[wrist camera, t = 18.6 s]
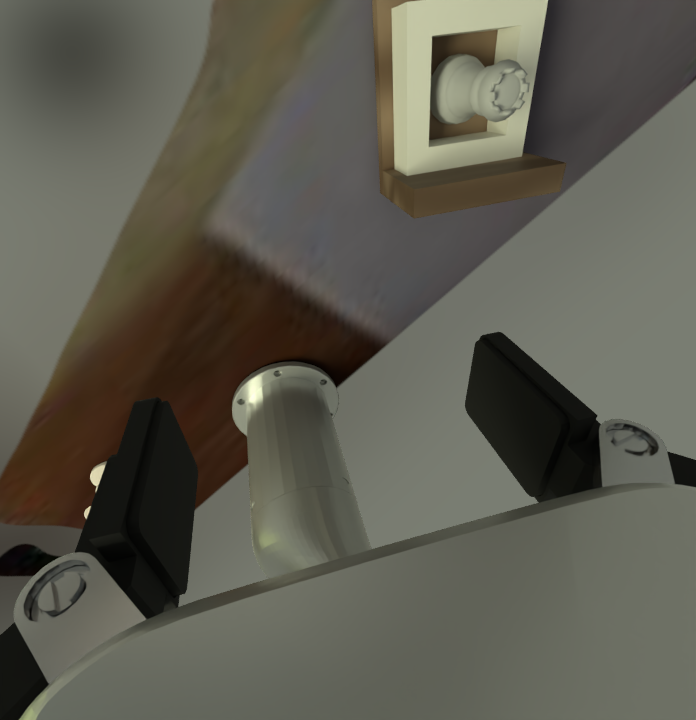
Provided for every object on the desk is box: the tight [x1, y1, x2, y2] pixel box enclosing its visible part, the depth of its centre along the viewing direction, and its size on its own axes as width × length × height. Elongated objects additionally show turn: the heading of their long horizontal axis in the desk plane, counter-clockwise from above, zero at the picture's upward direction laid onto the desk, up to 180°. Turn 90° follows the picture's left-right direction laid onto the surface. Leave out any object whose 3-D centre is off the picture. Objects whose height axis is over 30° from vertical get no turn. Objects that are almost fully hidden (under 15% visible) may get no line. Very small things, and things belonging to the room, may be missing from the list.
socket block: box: [391, 0, 548, 176], centre depth 28 cm, size 10×10×3 cm
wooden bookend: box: [372, 0, 566, 218], centre depth 26 cm, size 16×12×8 cm
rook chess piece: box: [430, 54, 530, 125], centre depth 26 cm, size 4×4×8 cm
